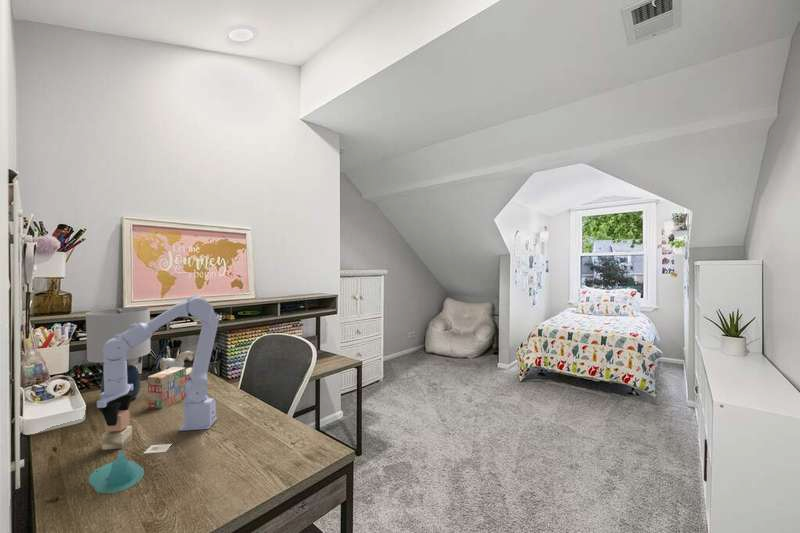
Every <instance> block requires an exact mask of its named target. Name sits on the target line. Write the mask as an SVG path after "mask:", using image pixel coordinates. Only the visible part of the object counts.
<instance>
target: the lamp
mask: <svg viewBox="0 0 800 533" xmlns="http://www.w3.org/2000/svg"><path fill="white" fill-rule="evenodd" d="M150 314H151V313H150V308H149V307H146V306H145V307H144V306H143V307H141V306H140V307H139V306H138V307H137V306H134V307H133V306H132V307H129V306H128V307H114V308H106V309H97V310H92V311H91V310H90V311H88V312H87V311H86V312H85V327H86V328H85V330H86V332H85V333H86V360H87V362H89V363H97V364H98V363H103V364H104V355H103V352H102V351H103V347H104V345H105V343H106V342H107V341H108V340H110V339H112V338H116V337H115V335H117V334H119V335H120V334H122V333H123V332H125V331H127V330H128V329H130V328H132V327H131V325H133V324H136V325H137V324H138V323H148V322H150V321H151V315H150ZM151 349H152V348H151V338H149V339H147V340H146V341H144V342H143V343H141V344H139V345H138V346H136V347H135V348H133V349H130V350H127V352H126V354H125V355H126V361H129V360H134V359H138V358H140V357H144V356H146V355H149V354H150V353H151ZM101 377H102V378H101V383H100V394H101V393H103V392H104V374H102V376H101ZM140 377H141V376H140V372H139V370H138V368H137V366H135V365H133V364H129V362H127V384H133V390H132V391H129V393H134V396H133V398H132V400H133V399H134V398H136V397H137V396H138V394H139V393H140V390H141V378H140Z"/></svg>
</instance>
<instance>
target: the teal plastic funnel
mask: <svg viewBox="0 0 800 533" xmlns="http://www.w3.org/2000/svg"><path fill="white" fill-rule="evenodd" d="M117 453H118V454H117V457H116V459H114V460H113V462H108V463H106V464H103V465H102V466H100V467H98V468H96V469H95V470H93V472H92V473H90V475H89V478H88V482H89V484H90V486H91V487H93V488H94V491H96V492H97V493H100V494H114V493H117V492H121V491H125V490H127V489H129V488H131V487H133V486H134V485H136V484H138V483H139V482H140V481H141V480H142V478H144V477H143V476H144V475H145V469H144V468H143V467H142V466H141V465H140V464H138V463H137V462H135V461H132V460H128V459H127V458H126V455H125V452H124V450H121V449H120V450H118V452H117Z"/></svg>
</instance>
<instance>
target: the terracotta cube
mask: <svg viewBox="0 0 800 533" xmlns="http://www.w3.org/2000/svg"><path fill="white" fill-rule="evenodd" d="M130 413H131V412H130V409H128V410H119V411H118V415H117V423H116V425H114V426H107V423H106V420H105V418H104V433H105V432H109V431H121V430H123V429H124V428H125V427H127V426H130V424H131V423H130V422H131V420H130V418H131V417H130Z"/></svg>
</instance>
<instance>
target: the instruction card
mask: <svg viewBox="0 0 800 533" xmlns="http://www.w3.org/2000/svg"><path fill="white" fill-rule="evenodd" d="M172 444H173V443H167V444H165V443H163V444H153V445H152V444H151V445H150V446H149V447H148V448H147V449H146V450H145V451H144V452H143V453H142V454H143V455H144V454H145V455H146V454H156V453H157V454H160V453H161V454H162V453H166V452H167V451H168V450H169V449H170V448H171V447H172V446H171V445H172ZM170 446H171V447H170ZM169 447H170V448H169Z"/></svg>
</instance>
